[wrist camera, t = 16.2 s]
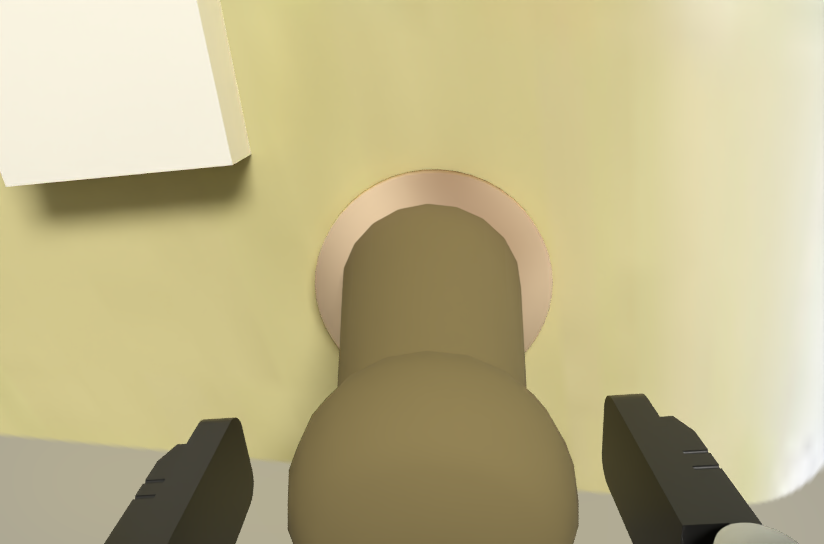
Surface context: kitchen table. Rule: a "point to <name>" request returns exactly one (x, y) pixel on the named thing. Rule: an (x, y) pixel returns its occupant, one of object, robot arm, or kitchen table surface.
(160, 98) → the tile
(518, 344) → the pepper shaker
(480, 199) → the disc
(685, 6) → the kitchen table surface
